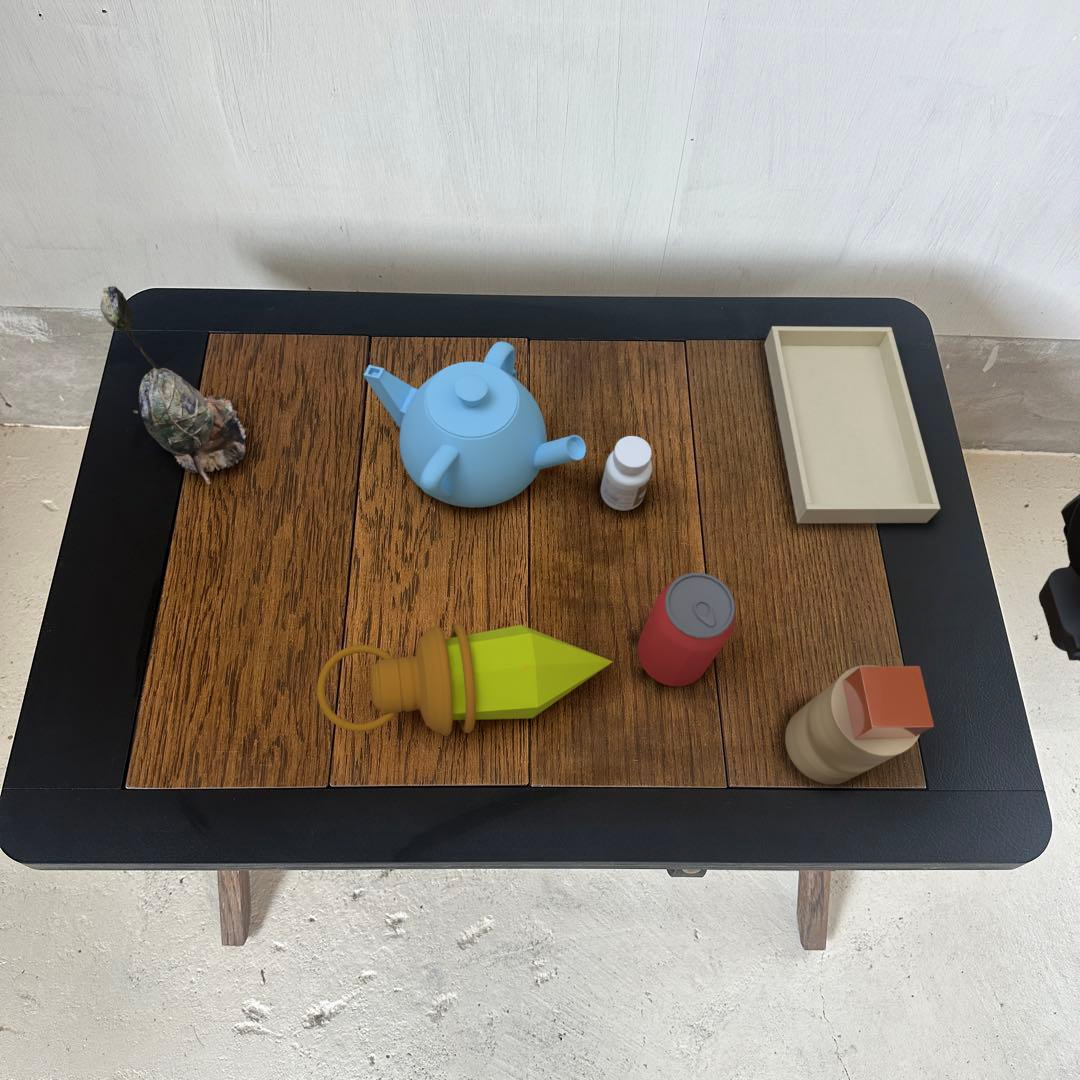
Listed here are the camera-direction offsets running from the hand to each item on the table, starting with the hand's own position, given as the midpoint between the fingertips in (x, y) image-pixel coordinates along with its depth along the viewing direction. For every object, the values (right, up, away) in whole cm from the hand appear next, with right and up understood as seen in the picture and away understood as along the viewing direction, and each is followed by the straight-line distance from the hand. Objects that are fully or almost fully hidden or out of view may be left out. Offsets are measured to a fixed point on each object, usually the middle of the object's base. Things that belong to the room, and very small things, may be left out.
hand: (1076, 657), depth 65 cm
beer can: (-29, -1, +13) cm, 32 cm away
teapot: (-48, +17, +21) cm, 55 cm away
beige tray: (-9, +21, +24) cm, 33 cm away
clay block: (-16, -4, -1) cm, 16 cm away
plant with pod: (-74, +18, +20) cm, 79 cm away
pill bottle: (-33, +14, +20) cm, 41 cm away
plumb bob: (-47, -5, +10) cm, 48 cm away
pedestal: (-16, -9, +9) cm, 21 cm away
